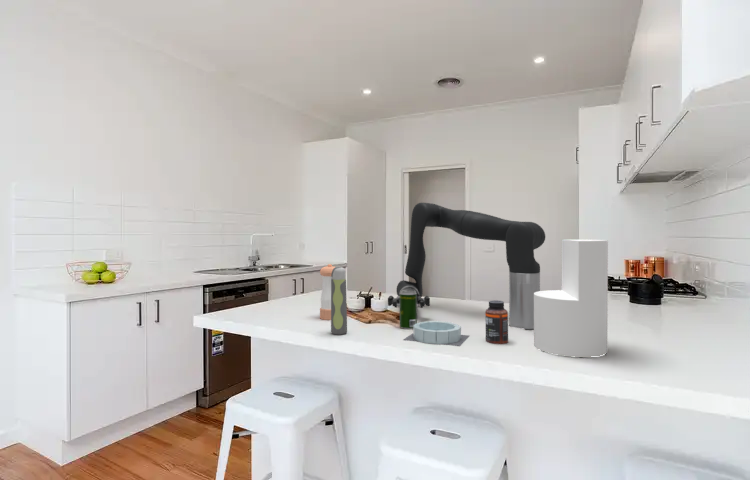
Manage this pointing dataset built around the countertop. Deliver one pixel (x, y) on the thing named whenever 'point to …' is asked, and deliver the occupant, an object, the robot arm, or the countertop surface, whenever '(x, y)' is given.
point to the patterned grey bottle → (338, 302)
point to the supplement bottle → (496, 323)
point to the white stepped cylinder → (575, 303)
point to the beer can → (408, 308)
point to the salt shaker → (326, 292)
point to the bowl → (437, 332)
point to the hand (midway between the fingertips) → (408, 304)
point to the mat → (459, 343)
